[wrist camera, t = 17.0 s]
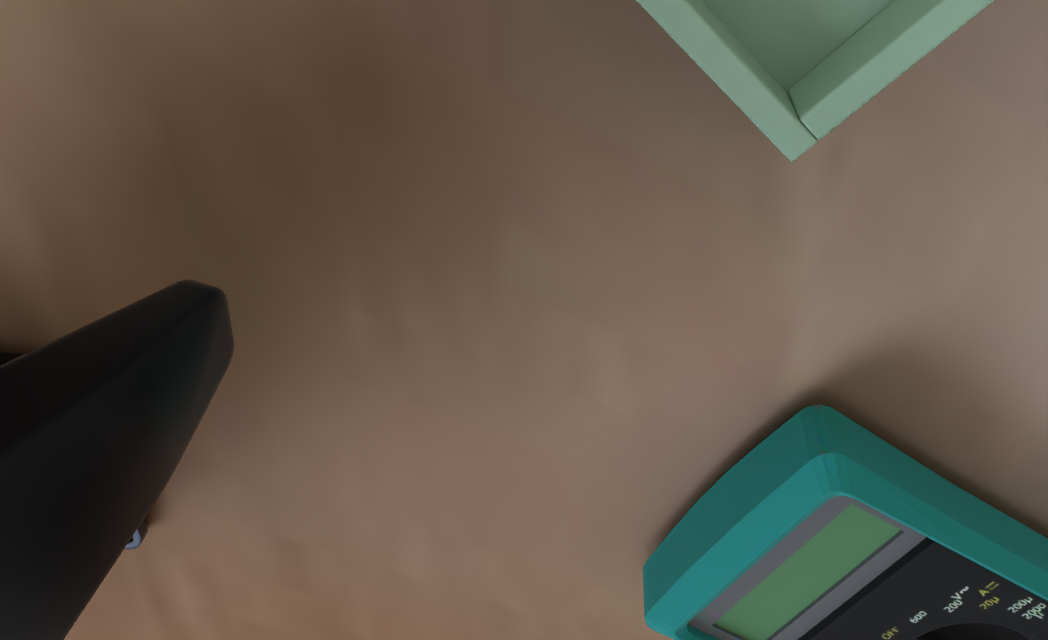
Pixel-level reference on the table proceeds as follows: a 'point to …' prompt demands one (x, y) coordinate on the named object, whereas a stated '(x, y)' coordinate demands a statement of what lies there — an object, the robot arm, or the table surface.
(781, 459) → the digital multimeter
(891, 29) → the tray
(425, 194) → the table surface
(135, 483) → the robot arm
